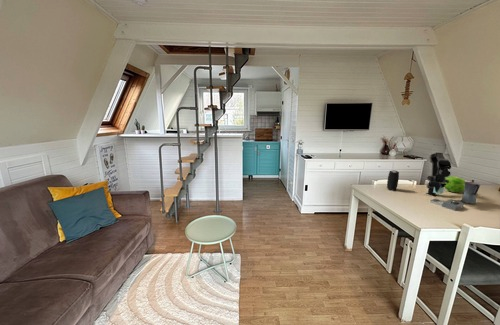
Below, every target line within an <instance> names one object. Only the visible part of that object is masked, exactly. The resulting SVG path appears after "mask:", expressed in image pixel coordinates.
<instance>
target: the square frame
mask: <svg viewBox="0 0 500 325" xmlns="http://www.w3.org/2000/svg"><path fill="white" fill-rule="evenodd" d="M429 203H431V204H434V205H437V206H441V207H442V208H445V209H449V210H452V211H457V210H460V209H463V207H464V206H463V205H464V202H462V201H459V200H457V199H456V200H455V199H450V198H449V199H447V200H443V199H438V198H433V199H431V200H430V201H429Z"/></svg>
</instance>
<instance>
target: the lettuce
mask: <svg viewBox="0 0 500 325" xmlns="http://www.w3.org/2000/svg"><path fill="white" fill-rule="evenodd" d="M445 179H447V180H449V183H446V182H445V183H446V185H445V186H444V189H446V190H447V191H449V192H451V193H458V192H463V191H465V182H466V181H465V180H464V179H463V178H461V177H459V176H448V177H445Z"/></svg>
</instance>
